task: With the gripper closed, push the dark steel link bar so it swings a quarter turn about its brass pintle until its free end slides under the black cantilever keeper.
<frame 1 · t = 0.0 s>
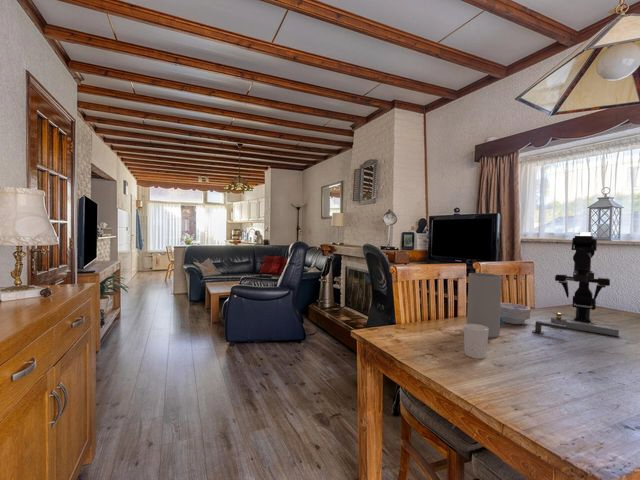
hand: (580, 299, 148), 15 cm above the table, tool pointing down, fingers open, 9 cm apart
white cup: (475, 355, 118), on the table
tall grey block: (482, 334, 143), on the table
gear: (489, 326, 155), on the table
paper bowls: (511, 322, 164), on the table
pintle: (558, 326, 157), on the table
link: (582, 326, 151), point 2 cm above the table, hinge at 90.0°
keeper: (538, 332, 146), on the table
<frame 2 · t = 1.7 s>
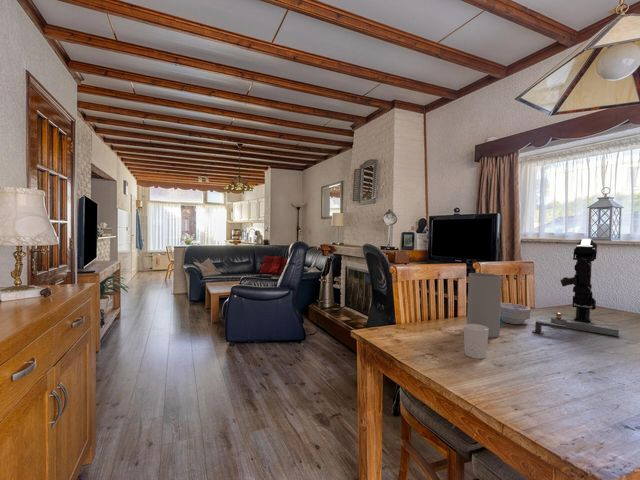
hand: (581, 305, 157), 10 cm above the table, tool pointing down, fingers closed
nothing on the table moved.
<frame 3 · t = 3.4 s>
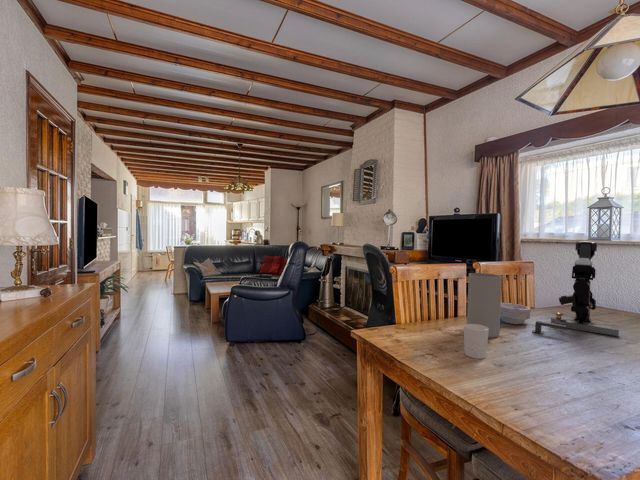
hand: (580, 324, 154), 2 cm above the table, tool pointing down, fingers closed
link: (582, 326, 151), point 2 cm above the table, hinge at 89.8°, touching gripper
everything else where it was.
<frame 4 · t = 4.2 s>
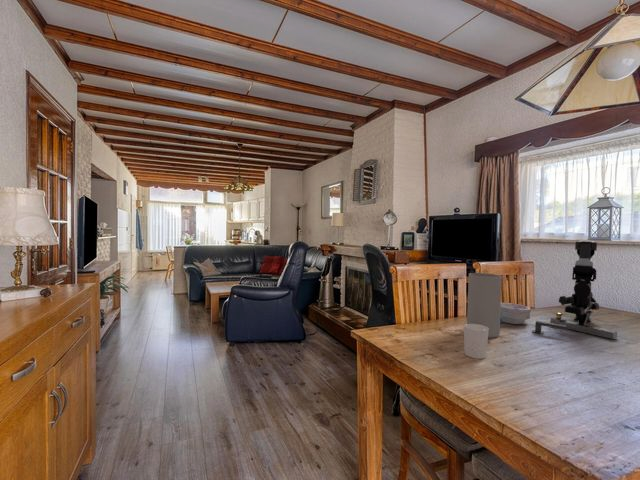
hand: (581, 326, 152), 2 cm above the table, tool pointing down, fingers closed
link: (581, 327, 150), point 2 cm above the table, hinge at 70.7°, touching gripper
everything else where it was.
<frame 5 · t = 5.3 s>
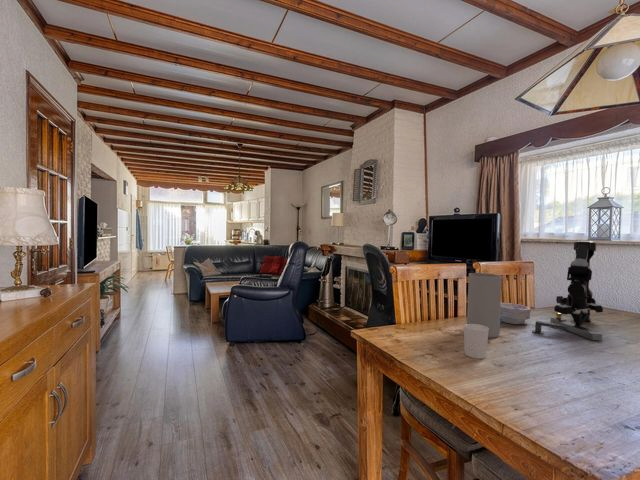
hand: (578, 327, 149), 2 cm above the table, tool pointing down, fingers closed
link: (573, 327, 148), point 2 cm above the table, hinge at 42.6°, touching gripper
everything else where it was.
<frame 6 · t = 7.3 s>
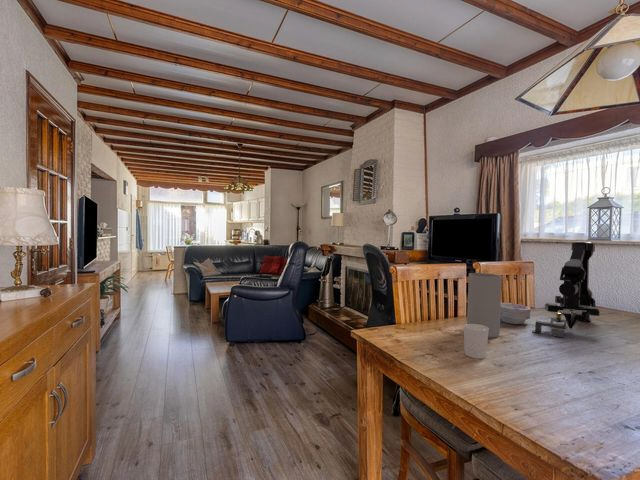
hand: (570, 328, 149), 1 cm above the table, tool pointing down, fingers closed
link: (558, 326, 150), point 2 cm above the table, hinge at 4.4°
everything else where it was.
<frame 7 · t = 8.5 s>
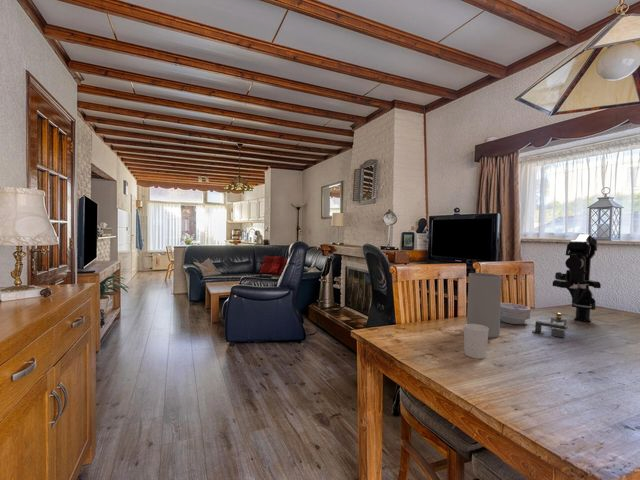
hand: (575, 303, 152), 12 cm above the table, tool pointing down, fingers closed
nothing on the table moved.
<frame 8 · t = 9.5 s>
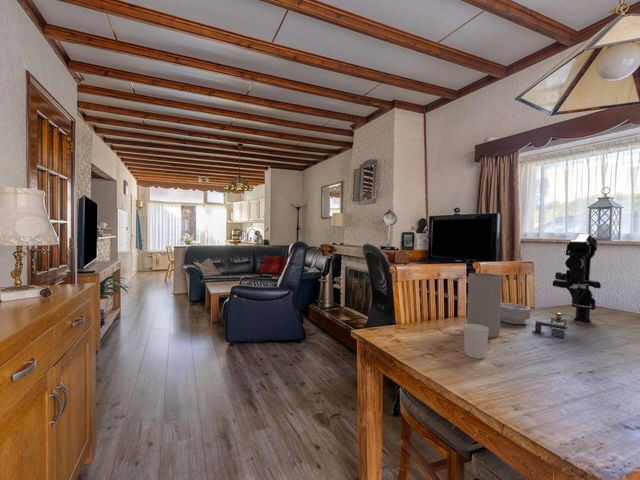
hand: (575, 303, 152), 12 cm above the table, tool pointing down, fingers closed
nothing on the table moved.
at the end: link at +4° (first picture: +90°); link touching nothing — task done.
